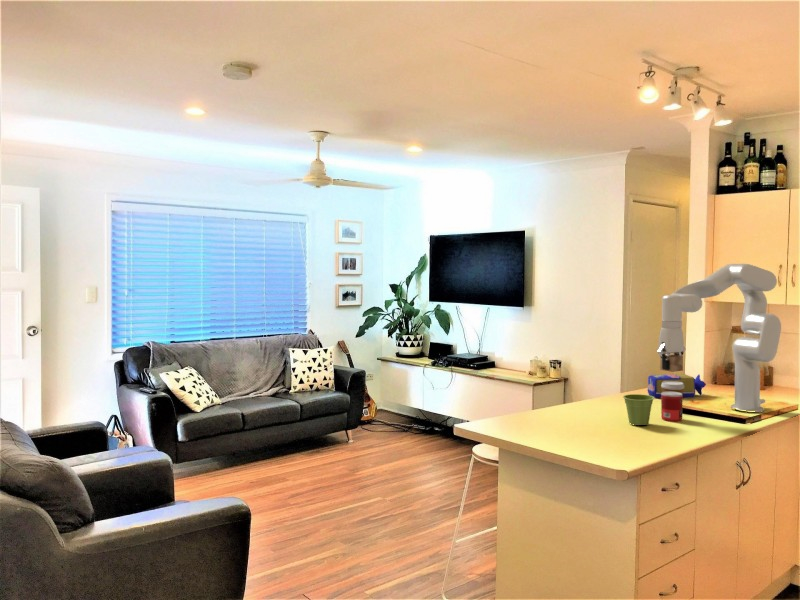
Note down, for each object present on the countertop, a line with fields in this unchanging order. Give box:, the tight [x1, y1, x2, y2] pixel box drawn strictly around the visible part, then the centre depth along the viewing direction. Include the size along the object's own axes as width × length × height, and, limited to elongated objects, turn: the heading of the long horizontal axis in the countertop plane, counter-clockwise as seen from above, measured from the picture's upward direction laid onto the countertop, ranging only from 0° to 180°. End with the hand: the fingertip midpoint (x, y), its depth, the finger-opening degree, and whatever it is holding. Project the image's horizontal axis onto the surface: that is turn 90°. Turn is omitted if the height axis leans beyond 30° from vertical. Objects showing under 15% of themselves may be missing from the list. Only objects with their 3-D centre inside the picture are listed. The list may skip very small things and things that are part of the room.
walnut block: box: [659, 353, 684, 373], centre depth 259 cm, size 6×6×6 cm
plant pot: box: [622, 393, 655, 426], centre depth 254 cm, size 12×12×11 cm
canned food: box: [660, 392, 683, 423], centre depth 260 cm, size 8×8×11 cm
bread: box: [647, 373, 707, 399], centre depth 303 cm, size 10×25×10 cm, turn 91°
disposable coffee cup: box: [661, 381, 685, 395], centre depth 276 cm, size 10×10×12 cm
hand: (671, 368), depth 259 cm, fingers closed on walnut block, 6 cm apart
